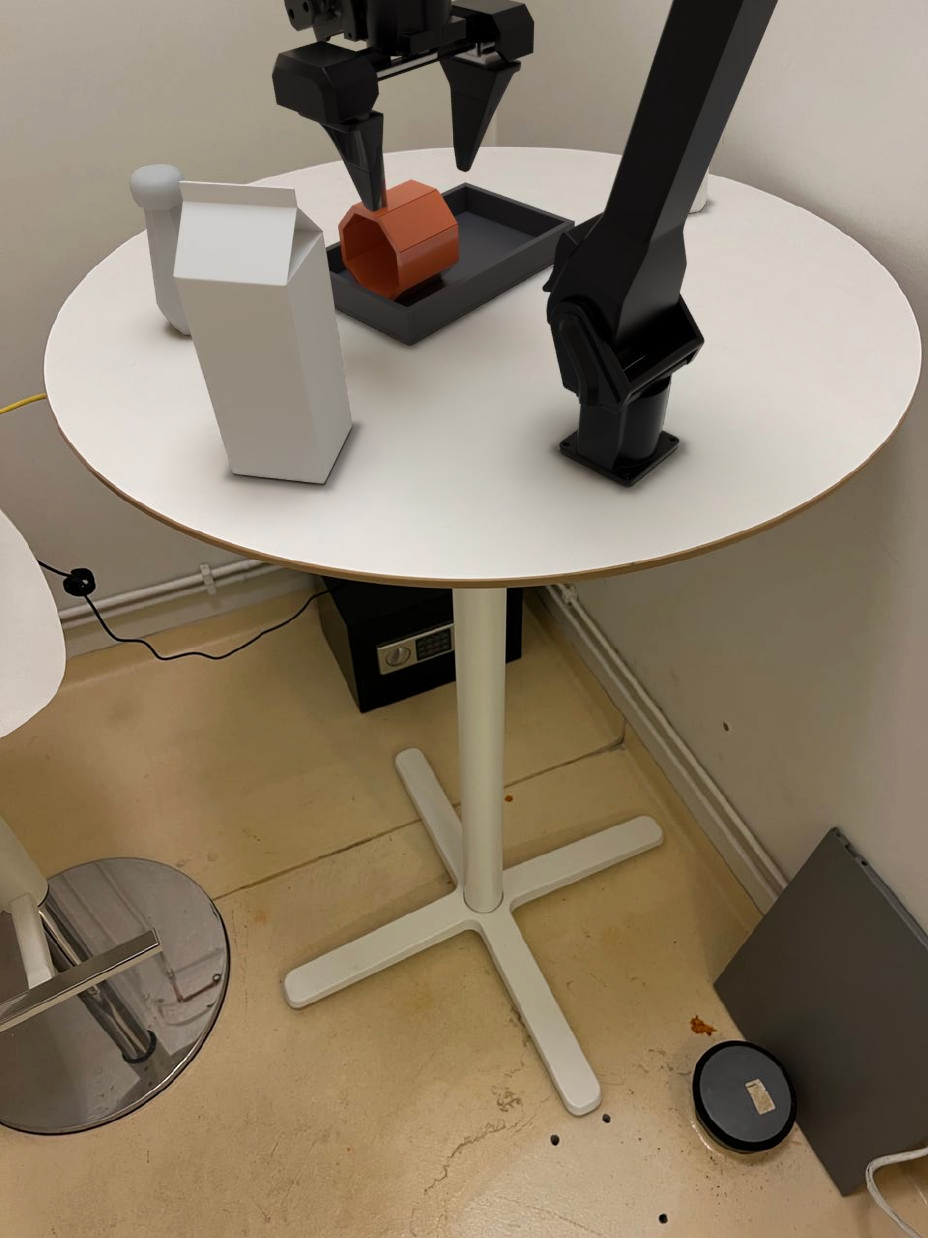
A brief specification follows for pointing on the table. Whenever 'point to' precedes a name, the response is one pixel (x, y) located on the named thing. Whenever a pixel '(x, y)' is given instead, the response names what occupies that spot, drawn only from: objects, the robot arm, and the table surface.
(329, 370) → the milk carton
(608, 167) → the table surface
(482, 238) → the black tray
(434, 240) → the pot
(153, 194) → the salt shaker
